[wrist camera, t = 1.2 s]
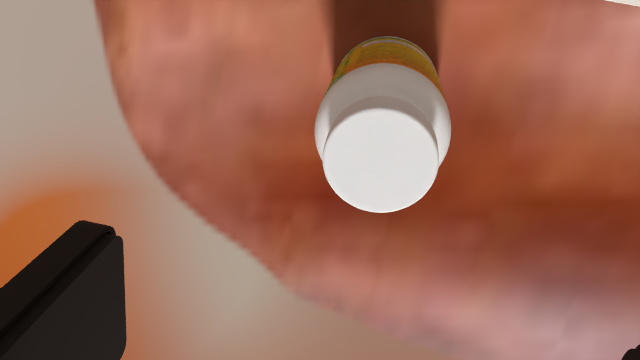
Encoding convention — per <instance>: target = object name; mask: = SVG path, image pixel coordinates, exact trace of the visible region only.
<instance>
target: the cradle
mask: <svg viewBox="0 0 640 360" xmlns="http://www.w3.org/2000/svg"><path fill="white" fill-rule="evenodd" d="M607 1H612V2H618V3H623V4H629V5H634V6H639V7H640V0H607Z"/></svg>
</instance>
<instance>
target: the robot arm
mask: <svg viewBox="0 0 640 360" xmlns="http://www.w3.org/2000/svg"><path fill="white" fill-rule="evenodd" d="M125 346H126V315H125V287H124V255H123V240H122V238H121V237H120V236H116V233H115V230H114V228H113V227H111V226H107V225H102V224H98V223H93V222H88V221H84V220H83V221H78V222H77V223H75V224H74V225H73V226H72V227H70V228H69V229H68V230H67V231H66V232H65V233H64V234H63V235H61V236H60V237H59V238H58V239H57V240H56V241H55V242H53V243H52V244H51V245H50V246H49V247H48V248H47V249H45V250H44V251H43V252H42V253H41V254H40V255H38V256H37V257H36V258H35V259H34V260H33V261H32V262H31V263H29V264H28V265H27V266H26V267H25V268H24V269H23V270H21V271H20V272H19V273H18V274H17V275H16V276H15V277H13V278H12V279H11V280H10V281H9V282H8V283H7V284H5V285H4V286H3V287H2V288H0V360H120V359H121V357H122V355H123V353H124V350H125ZM622 360H640V345H638V346H637V347H636V348H635V349H630V350H628V351H627V352H626V353H625V355H624V356H623V358H622Z"/></svg>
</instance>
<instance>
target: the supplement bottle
mask: <svg viewBox="0 0 640 360" xmlns="http://www.w3.org/2000/svg"><path fill="white" fill-rule="evenodd" d="M450 137H451V122H450V115H449V110H448V107H447V104H446V100H445V98H444V94H443V91H442V88H441V85H440V82H439V78H438V75H437V72H436V69H435V67H434V65H433V63H432V61H431V60H430V58H429V57H428V55H427V54H426V53H425V52H424V51H423V50H422V49H421V48H420V47H418V46H417V45H415V44H414V43H412V42H410V41H408V40H405V39H402V38H398V37H392V36H383V37H376V38H372V39H369V40H366V41H364V42H362V43H360V44H358V45H357V46H355V47H354V48H353V49H352V50H350V51H349V52H348V53H347V55H346V56H345V57H344V58H343V60H342V61H341V63H340V64H339V66H338V68H337V70H336V72H335V75H334V77H333V79H332V81H331V83H330V85H329V88H328V90H327V92H326V94H325V96H324V98H323V100H322V102H321V104H320V107H319V110H318V113H317V117H316V122H315V140H316V146H317V149H318V152H319V155H320V157H321V159H322V161H323V168H324V172H325V175H326V178H327V180H328V182H329V184H330V186H331V187H332V189H333V190H334V191H335V192H336V193H337V194H338V195H339V196H340V197H341V198H342V199H343V200H344V201H346V202H347V203H349V204H350V205H352V206H354V207H356V208H359V209H362V210H366V211H370V212H380V213H381V212H392V211H397V210H400V209H403V208H406V207H408V206H410V205H412V204H413V203H415V202H416V201H418V200H419V199H420V198H422V197H423V196H424V195H425V194H426V192H427V191H428V190H429V189H430V187H431V185H432V184H433V182H434V180H435V177H436V175H437V171H438V167H439V166H440V164H441V163H442V161H443V159H444V157H445V155H446V153H447V150H448V147H449V143H450Z"/></svg>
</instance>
